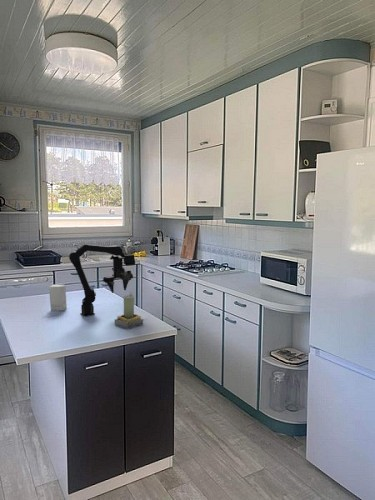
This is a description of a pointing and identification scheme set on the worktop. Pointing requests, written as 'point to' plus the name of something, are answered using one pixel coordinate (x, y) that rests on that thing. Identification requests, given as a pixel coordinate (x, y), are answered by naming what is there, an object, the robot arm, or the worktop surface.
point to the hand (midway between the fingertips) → (118, 291)
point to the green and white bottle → (129, 306)
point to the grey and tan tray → (128, 321)
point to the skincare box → (57, 297)
